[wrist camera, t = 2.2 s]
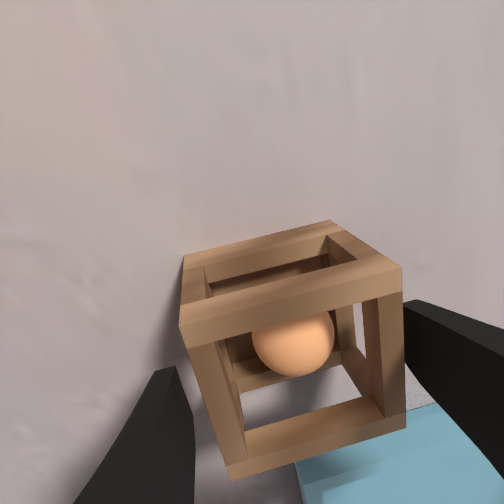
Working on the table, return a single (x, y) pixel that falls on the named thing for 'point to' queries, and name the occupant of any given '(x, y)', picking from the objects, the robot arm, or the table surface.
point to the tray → (404, 467)
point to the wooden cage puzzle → (284, 310)
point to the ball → (296, 344)
